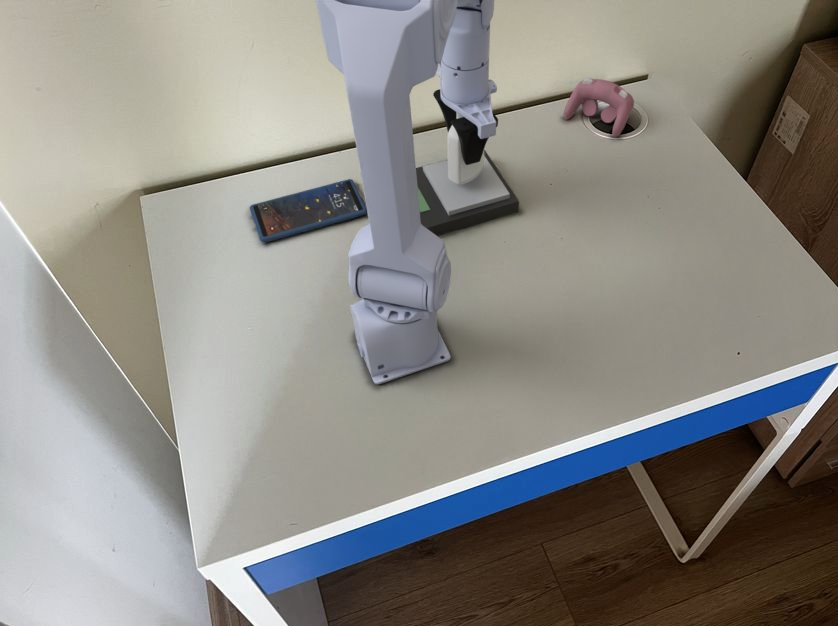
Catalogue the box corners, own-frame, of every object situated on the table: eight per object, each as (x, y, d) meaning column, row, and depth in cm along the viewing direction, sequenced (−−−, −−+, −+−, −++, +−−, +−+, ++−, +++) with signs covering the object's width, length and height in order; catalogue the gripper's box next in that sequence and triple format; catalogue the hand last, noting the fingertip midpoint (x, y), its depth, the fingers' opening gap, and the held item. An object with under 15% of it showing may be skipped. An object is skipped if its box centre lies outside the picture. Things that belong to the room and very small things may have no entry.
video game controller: (625, 136, 110) (641, 91, 107) (616, 139, 106) (633, 92, 103) (569, 116, 113) (583, 71, 110) (559, 118, 109) (573, 72, 106)
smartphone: (248, 204, 97) (352, 177, 101) (249, 208, 98) (352, 181, 101) (260, 240, 93) (368, 211, 97) (261, 245, 94) (368, 215, 97)
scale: (424, 239, 95) (423, 224, 93) (395, 184, 101) (393, 169, 99) (518, 211, 98) (519, 196, 96) (484, 160, 104) (484, 144, 102)
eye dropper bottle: (491, 178, 96) (493, 101, 87) (452, 188, 95) (451, 111, 85) (479, 158, 99) (480, 82, 89) (441, 168, 97) (438, 92, 88)
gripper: (522, 82, 80) (515, 176, 91) (472, 19, 88) (472, 113, 99) (464, 96, 78) (465, 191, 89) (419, 31, 86) (424, 125, 97)
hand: (465, 151), depth 94 cm, fingers closed on eye dropper bottle, 4 cm apart
